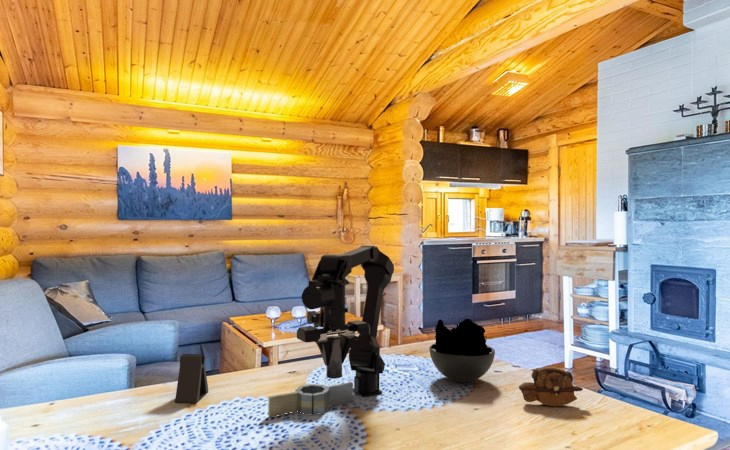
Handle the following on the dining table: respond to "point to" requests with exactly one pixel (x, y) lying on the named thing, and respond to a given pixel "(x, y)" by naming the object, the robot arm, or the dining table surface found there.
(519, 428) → the dining table surface
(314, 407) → the hinge
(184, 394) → the phone stand
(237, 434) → the dining table surface
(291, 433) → the dining table surface
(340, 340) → the hinge pin
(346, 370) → the dining table surface
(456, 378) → the coal bowl
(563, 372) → the wooden carving
